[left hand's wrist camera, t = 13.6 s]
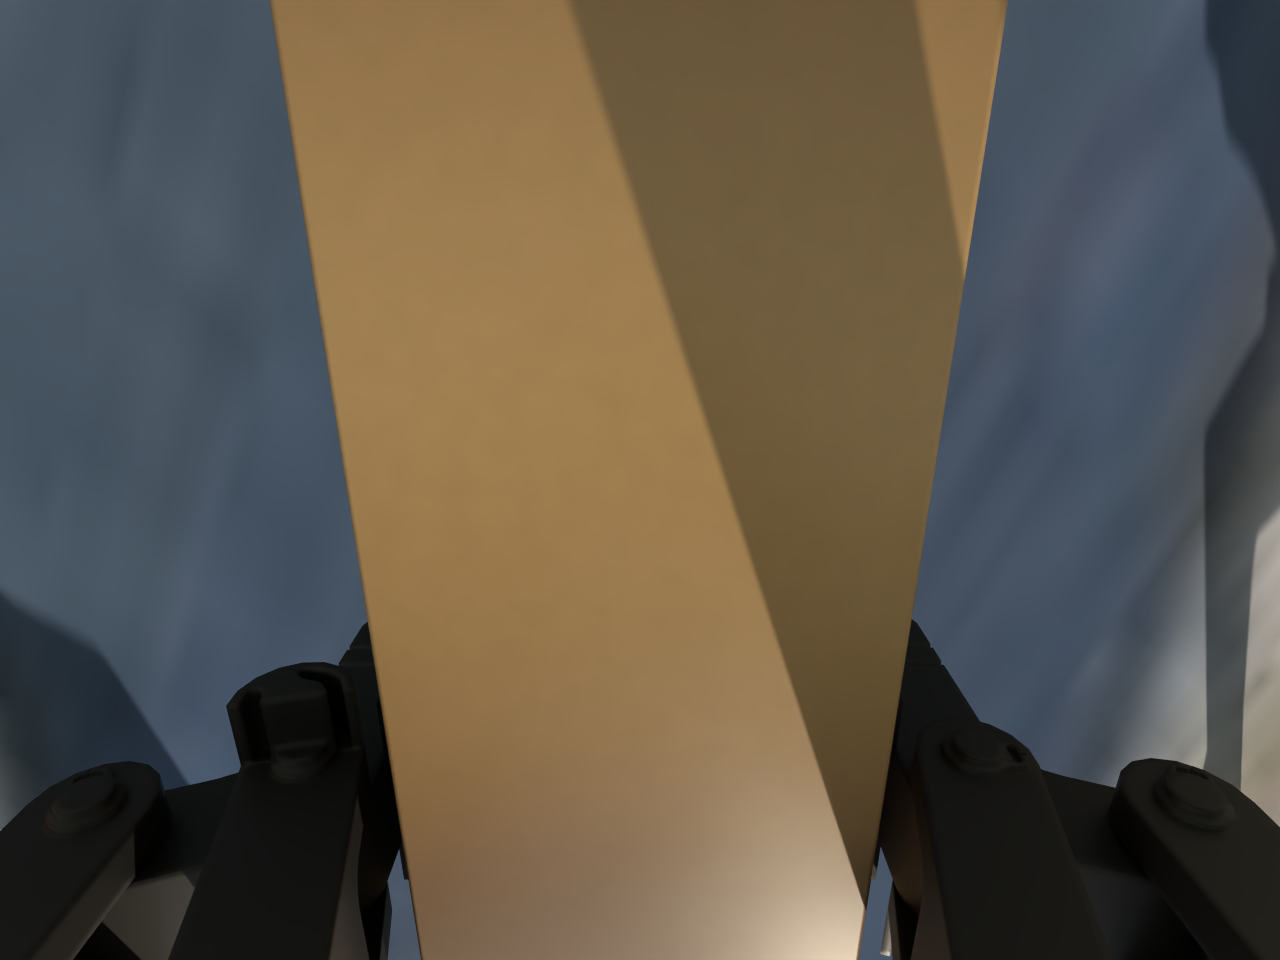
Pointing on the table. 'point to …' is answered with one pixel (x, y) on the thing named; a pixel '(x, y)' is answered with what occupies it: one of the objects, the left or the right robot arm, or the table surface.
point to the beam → (639, 438)
